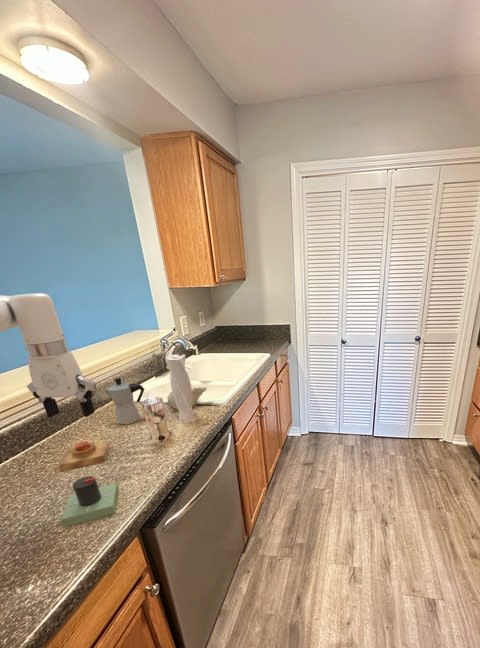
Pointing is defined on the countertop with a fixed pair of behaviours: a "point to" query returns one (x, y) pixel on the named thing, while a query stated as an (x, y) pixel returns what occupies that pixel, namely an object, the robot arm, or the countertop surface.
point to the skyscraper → (181, 386)
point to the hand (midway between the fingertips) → (72, 414)
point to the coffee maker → (125, 400)
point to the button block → (84, 456)
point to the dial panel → (90, 507)
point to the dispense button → (82, 446)
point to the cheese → (195, 396)
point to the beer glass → (156, 419)
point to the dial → (87, 491)
